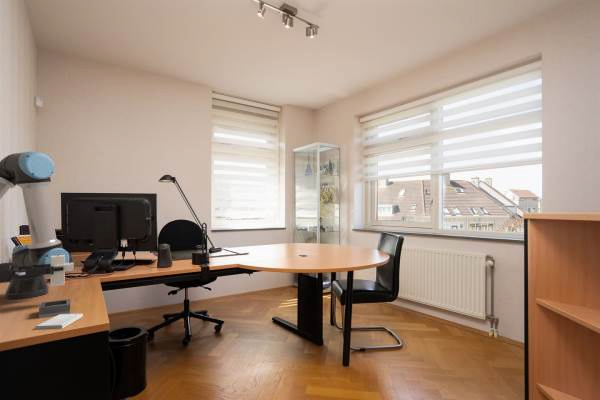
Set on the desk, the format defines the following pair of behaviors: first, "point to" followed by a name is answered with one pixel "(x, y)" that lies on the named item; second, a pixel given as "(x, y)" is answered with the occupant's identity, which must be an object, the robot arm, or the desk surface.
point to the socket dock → (54, 308)
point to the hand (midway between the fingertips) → (73, 266)
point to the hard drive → (59, 321)
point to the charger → (57, 277)
